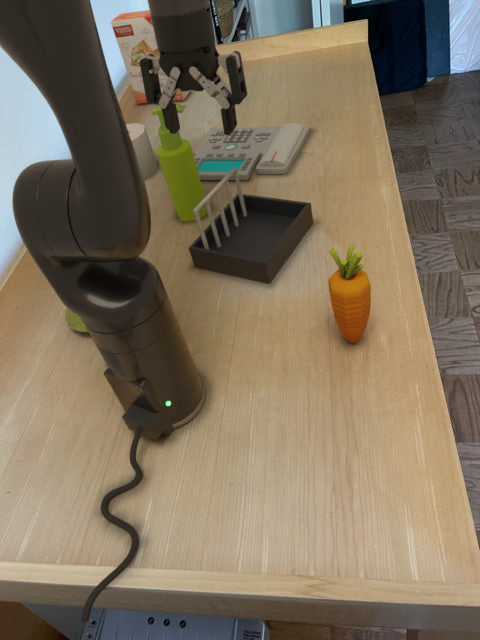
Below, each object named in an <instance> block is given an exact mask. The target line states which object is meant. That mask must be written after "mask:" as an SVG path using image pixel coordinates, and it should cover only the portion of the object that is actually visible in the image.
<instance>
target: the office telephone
mask: <svg viewBox="0 0 480 640" xmlns="http://www.w3.org/2000/svg"><path fill="white" fill-rule="evenodd" d="M311 131H312V130H311V126H310V125H302V124H300V123H295V122H290V123H284V124H283V125H281V126H255V127H254V126H253V127H236V128H235V129H234V131H233V132H232V133H231V135H225V134H224V129H223V127H211V128H210V129H208V131H207V132H206V134H205V135H204V136H203V138H202V139H201V141H200V142H199V144H198V145H197V146H196V148H194V149H195V150H194V151H193V155H194V159H195V163H196V166H197V170H198V173H199V177H200V180H201V181H221V180H222V179H223V178H224V177H225V176H226V175H227V174H228V173H229V172H230V171H231V170H232V169H233V168H234V167H236V168H237V171H238V176H239V180H240V181H247V180H249V179H250V176H251V174H252V173H253V171H254V169H255V171H256V174H257V175H285V174H287V173H288V172H289V170H290V169H291V167H292V166H293V164H294V162H295V160H296V158H297V157H298V155H299V153H300V152H301V150H302V148H303V146H304V144H305V143H306V140H307V139H308V137H309V135H310V133H311ZM228 181H235V177H234V174H233V175H232V176H231V177H230V178H229V179H228Z"/></svg>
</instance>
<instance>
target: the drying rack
mask: <svg viewBox="0 0 480 640" xmlns="http://www.w3.org/2000/svg"><path fill="white" fill-rule="evenodd" d="M233 174H234V177H235V180H234V181H235V182H234V183H235V186H236V191H237V194H236V195H235V196H234V197H233V195H232V190H231V186H230V181H229V180H228V179H229V178H230V177H231V176H232V175H233ZM223 186H224V189H225V192H226V196H227V199H228V200H227V201H228V204H227V205H226V206H225V207H224V205H223V202H222V197H221V193H220V189H221V188H222V187H223ZM242 189H243V188H242V185H241V180H239V176H238V171H237V168H236V167H234V168H233V169H232V170H231V171H230V172H229V173H228V174H227V175H226V176H225V177H224V178H223V179H222V180H219V182H218V183H217V184H216V185H215V186H214V187H213V188H212V189H211V190H210V191H209V193H208V194H207V195H205V198H204V199H203V200H202V201H201V202H200V203H199V204H198V205H197V206H196V207H195V208H194V210H193V212H194V215H195V218H196V220H195V222H196V225H197V228H198V231H199V236H198V237H197V238H196V239H195V240H194V241H193V242H192V244H191V245H190V246H189V247H188V252H189V254H190V257H191V260H192V263H193V266H194V268H196V269H200V270H204V271H208V272H213V273H218V274H222V275H228V276H232V277H237V278H240V279H246V280H250V281H254V282H259V283H262V284H263V283H264V284H267V285H270V284H271V283H272V281H273V280H274V279H275V277H276V276H277V274H279V272H280V270H281V269H282V267H283V266H284V265H285V264H286V262H287V261H288V259H289V258H290V257H291V255H292V254H293V252H294V251H295V250H296V248H297V247H298V245H299V244H300V243H301V241H302V240H303V238H304V237H305V236H306V235H307V233H308V232H309V230H310V229H311V227H312V226H313V225H314V216H313V208H312V203H311V202H305V201H299V200H290V199H284V198H277V197H276V198H275V197H269V196H260V195H252V194H245V193H243V190H242ZM213 196H215V199H216V203H217V207H218V210H219V211H218V212H219V214H218V215H217V216H216V217H215V218H214V215H213V211H212V208H211V207H212V206H211V204H210V199H212V198H213ZM204 205H205V206H206V210H207V216H208V220H209V223H210V224H209V225H207V227H206V228H205V229H204V226H203V223H202V218H200V216H199V212H198V211H199V210H200V209H201V208H202V207H203V206H204Z"/></svg>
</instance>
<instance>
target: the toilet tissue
mask: <svg viewBox="0 0 480 640" xmlns="http://www.w3.org/2000/svg"><path fill="white" fill-rule="evenodd" d="M125 124H126V127H127V130H128V133H129V136H130V139H131V142H132V144H133V147H134V150H135V153H136V156H137V159H138V162H139V166H140V169H141V172H142V175H143V178H144V180H145V179H147V178H149V177H151V176H152V175H153V174H154V173H155V172H156V171H157V170H158V161H157V159H156V156H155V153H154V149H153V147H152V143H151V141H150V138H149V135H148V133H147V129H146V126H145V125H144V124H141V123H138V122H133V123H125Z"/></svg>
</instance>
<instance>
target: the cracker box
mask: <svg viewBox="0 0 480 640" xmlns="http://www.w3.org/2000/svg"><path fill="white" fill-rule="evenodd" d="M110 24H111V27H112V30H113V34H114V36H115V39H116V40H115V41H116V42H117V46H118V49H119V50H120V51H119V52H120V55H121V57H122V61H123V64H124V66H125V69H126V72H127V75H128V79H129V82H130V85H131V88H132V91H133V94H134V97H135V100H136V103H137V105H139V104H140V105H143V104H149V103H148V102H147V100H146V95H145V89H144V84H143V79H142V73H141V68H140V60H141V59H143V58H144V57H146V56H147V55H148V54H150V53H151V54H153V55H154V56H155V57H160V51H159V49H158V47H157V43H156V38H155V33H154V28H153V24H152V19H151V14H150V10H149V9H147V10H138V11H132V12H123V13H120V14H118V15H117V16H116V17H114V18H113V19H112V20H111V21H110ZM158 76H159V82H160V88H161V93H163V89H164V87H165V85H166V83H167V80H168V76H167V75H166V74H165V73H164V72H163V70H162V69H161V68H160V71H159V72H158ZM191 92H192V90H189V91H181V90H180V89H179V90H178V92H177V94H176V96H175V98H174V100H173V102H184V101H185V100H186V98H188V96H189V95H190V93H191Z"/></svg>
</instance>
